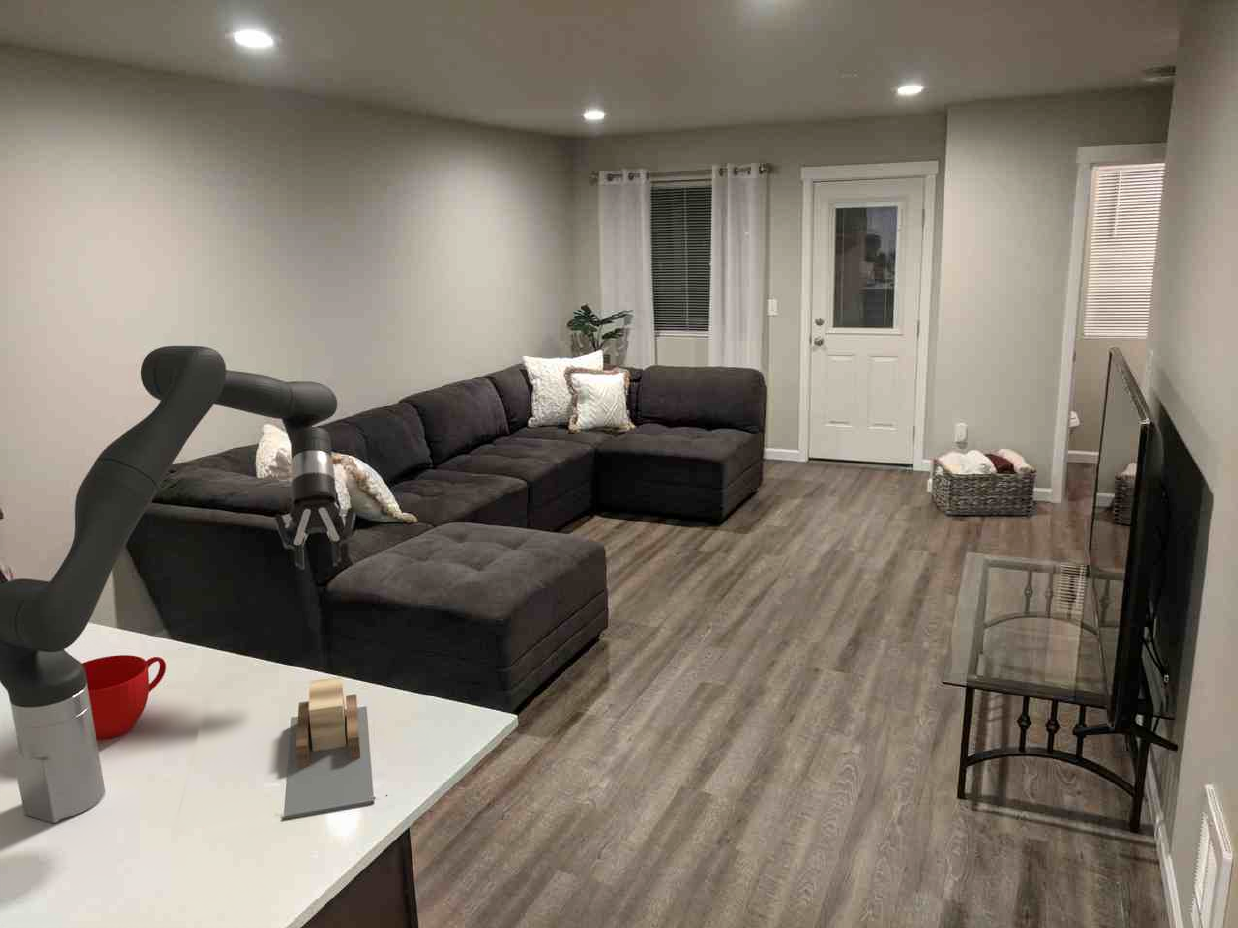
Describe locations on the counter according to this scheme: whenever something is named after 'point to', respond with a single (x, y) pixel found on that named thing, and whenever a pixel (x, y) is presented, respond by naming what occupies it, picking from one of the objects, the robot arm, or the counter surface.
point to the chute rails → (305, 731)
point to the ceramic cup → (119, 691)
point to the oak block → (327, 714)
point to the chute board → (329, 776)
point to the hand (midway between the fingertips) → (318, 565)
